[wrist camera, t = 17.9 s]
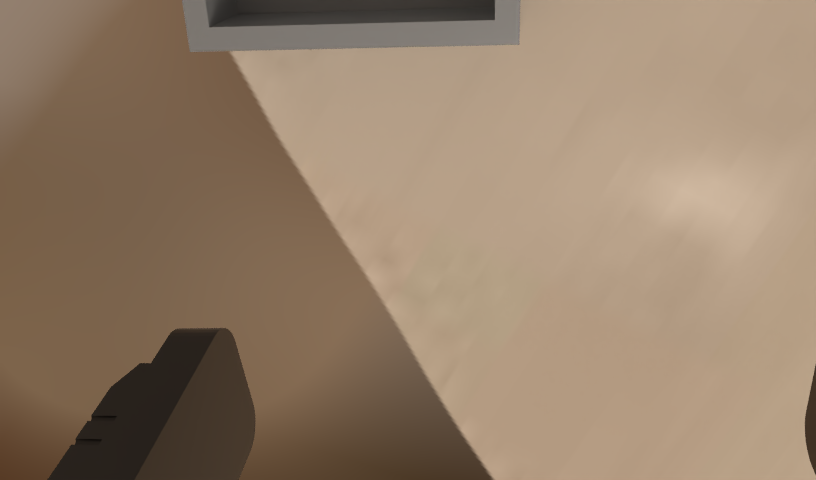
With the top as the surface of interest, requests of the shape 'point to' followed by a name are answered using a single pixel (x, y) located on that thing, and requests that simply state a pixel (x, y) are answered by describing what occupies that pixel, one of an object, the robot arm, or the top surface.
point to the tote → (348, 24)
